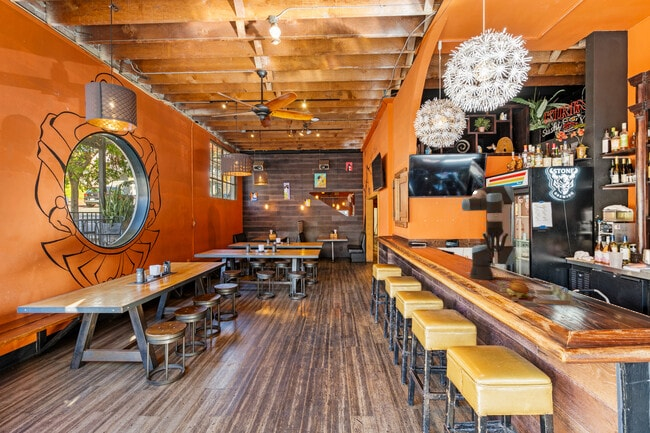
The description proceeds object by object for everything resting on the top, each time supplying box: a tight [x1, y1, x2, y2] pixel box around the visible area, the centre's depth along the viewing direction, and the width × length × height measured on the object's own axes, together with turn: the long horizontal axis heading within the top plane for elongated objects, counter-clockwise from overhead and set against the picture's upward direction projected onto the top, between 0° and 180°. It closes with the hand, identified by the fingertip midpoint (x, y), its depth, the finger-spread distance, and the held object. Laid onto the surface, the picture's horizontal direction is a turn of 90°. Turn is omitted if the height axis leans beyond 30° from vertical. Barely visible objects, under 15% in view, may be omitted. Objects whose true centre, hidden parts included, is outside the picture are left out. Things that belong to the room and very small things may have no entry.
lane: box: [500, 284, 573, 306], centre depth 164 cm, size 21×26×5 cm
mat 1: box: [528, 289, 536, 294], centre depth 177 cm, size 6×7×1 cm
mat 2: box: [522, 301, 540, 308], centre depth 152 cm, size 6×7×1 cm
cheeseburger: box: [506, 279, 530, 299], centre depth 166 cm, size 10×11×10 cm
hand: (495, 263), depth 169 cm, fingers closed
